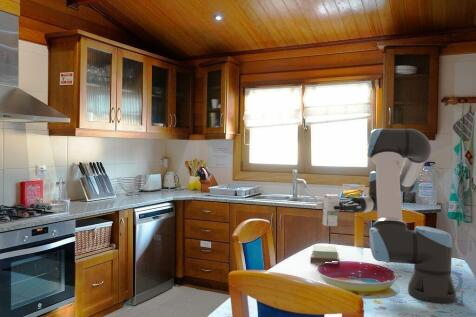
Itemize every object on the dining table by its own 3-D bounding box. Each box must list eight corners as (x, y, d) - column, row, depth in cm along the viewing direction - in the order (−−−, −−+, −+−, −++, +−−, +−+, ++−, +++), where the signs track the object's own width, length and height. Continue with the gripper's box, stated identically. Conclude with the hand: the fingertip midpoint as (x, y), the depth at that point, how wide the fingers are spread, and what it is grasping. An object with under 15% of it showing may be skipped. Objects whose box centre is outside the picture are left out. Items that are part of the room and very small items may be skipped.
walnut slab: (338, 266, 175) (338, 259, 175) (310, 264, 178) (310, 257, 178) (338, 259, 187) (338, 252, 187) (312, 257, 190) (312, 250, 190)
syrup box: (333, 224, 189) (334, 193, 188) (338, 226, 183) (339, 195, 182) (322, 224, 188) (322, 193, 188) (326, 226, 182) (327, 195, 182)
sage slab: (337, 258, 176) (337, 252, 176) (313, 257, 178) (314, 250, 178) (335, 253, 186) (335, 246, 186) (313, 251, 188) (313, 245, 188)
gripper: (376, 215, 184) (335, 218, 174) (347, 209, 202) (309, 211, 192) (376, 199, 183) (336, 201, 174) (347, 194, 202) (309, 195, 192)
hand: (321, 206), depth 183 cm, fingers closed on syrup box, 7 cm apart
